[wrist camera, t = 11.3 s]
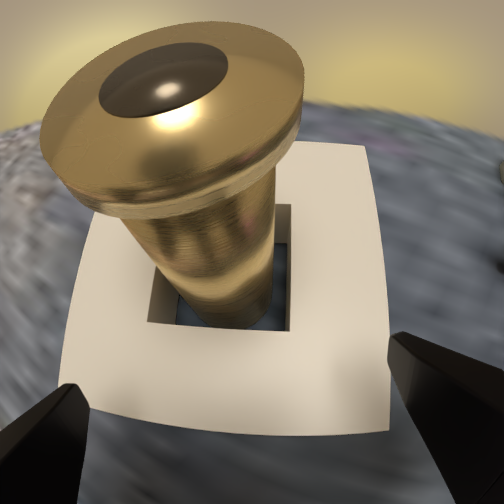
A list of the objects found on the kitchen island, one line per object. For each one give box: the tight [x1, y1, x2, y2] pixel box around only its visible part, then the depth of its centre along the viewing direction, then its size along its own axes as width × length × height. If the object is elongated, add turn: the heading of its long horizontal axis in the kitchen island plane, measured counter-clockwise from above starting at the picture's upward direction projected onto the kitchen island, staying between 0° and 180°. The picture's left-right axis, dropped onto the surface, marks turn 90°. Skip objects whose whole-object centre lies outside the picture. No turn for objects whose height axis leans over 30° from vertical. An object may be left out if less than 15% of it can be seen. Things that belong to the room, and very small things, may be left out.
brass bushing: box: [40, 21, 304, 330], centre depth 11 cm, size 5×5×13 cm
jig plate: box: [58, 141, 390, 436], centre depth 15 cm, size 14×14×4 cm
